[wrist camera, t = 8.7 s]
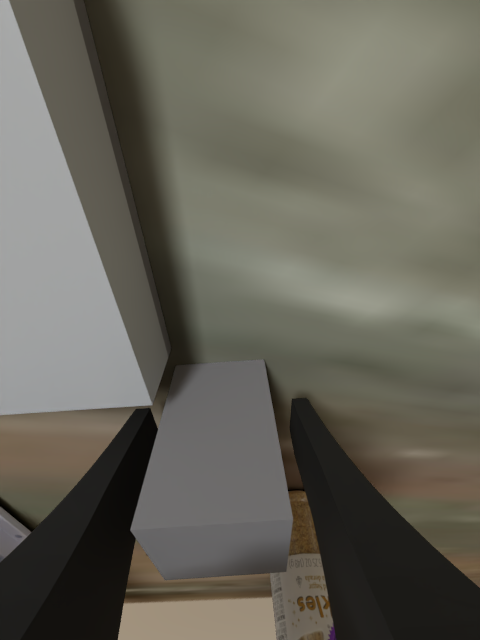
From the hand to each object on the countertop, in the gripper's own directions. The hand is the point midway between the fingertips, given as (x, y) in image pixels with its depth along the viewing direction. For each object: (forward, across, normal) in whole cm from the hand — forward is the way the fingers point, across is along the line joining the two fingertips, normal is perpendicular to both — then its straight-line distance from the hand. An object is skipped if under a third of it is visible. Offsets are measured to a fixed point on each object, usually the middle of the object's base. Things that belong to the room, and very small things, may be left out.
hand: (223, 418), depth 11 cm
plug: (+2, 0, 0) cm, 2 cm away
